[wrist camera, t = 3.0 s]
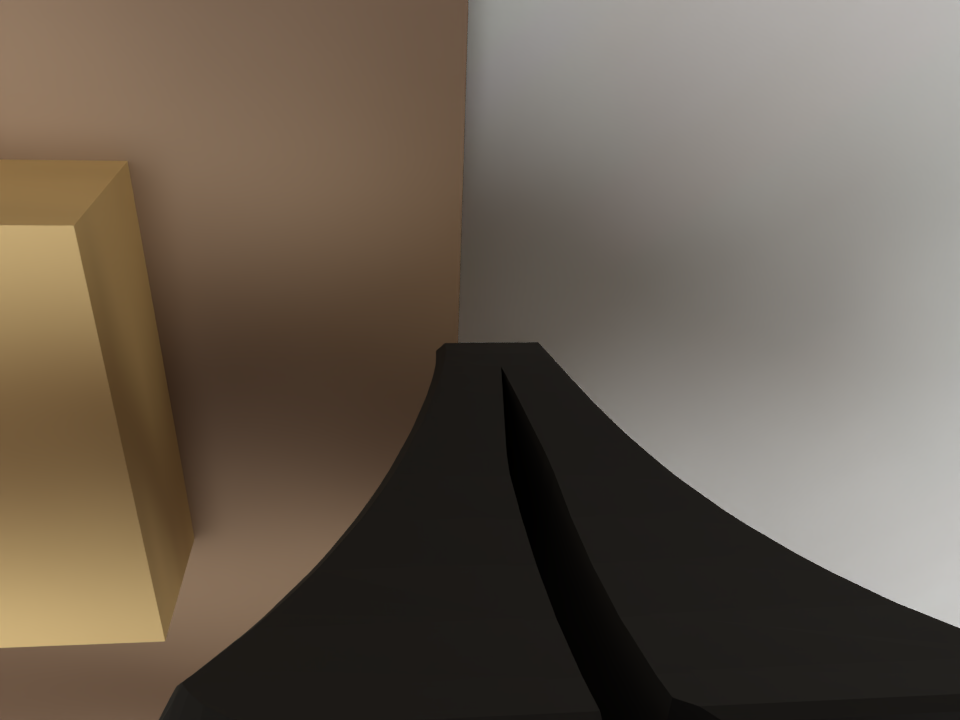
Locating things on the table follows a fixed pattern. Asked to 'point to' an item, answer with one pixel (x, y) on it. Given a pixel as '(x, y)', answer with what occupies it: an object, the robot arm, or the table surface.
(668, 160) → the table surface
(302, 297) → the deck
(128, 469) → the tile
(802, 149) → the table surface
